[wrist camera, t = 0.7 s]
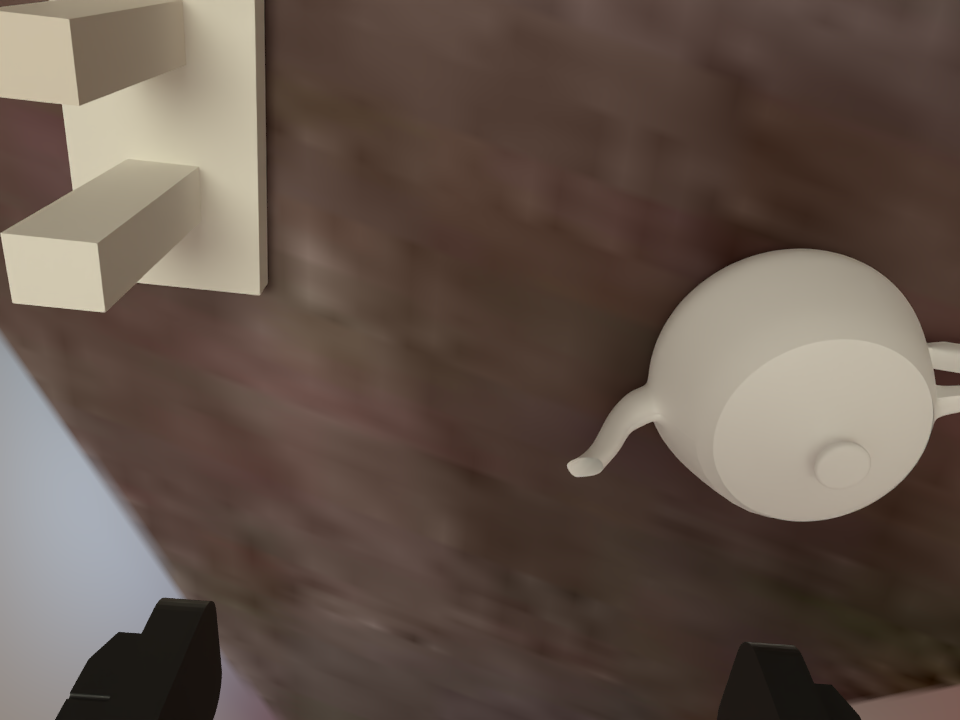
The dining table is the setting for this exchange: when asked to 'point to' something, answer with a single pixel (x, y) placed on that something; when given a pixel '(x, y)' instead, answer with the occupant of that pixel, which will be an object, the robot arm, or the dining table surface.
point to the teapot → (790, 386)
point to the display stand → (143, 147)
